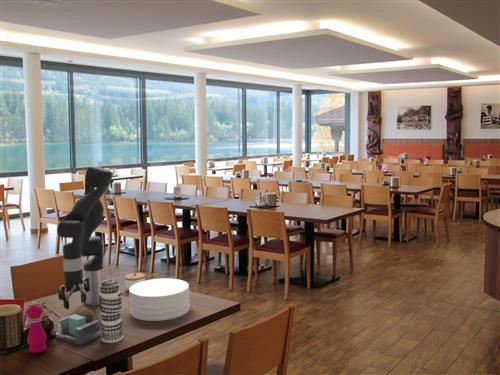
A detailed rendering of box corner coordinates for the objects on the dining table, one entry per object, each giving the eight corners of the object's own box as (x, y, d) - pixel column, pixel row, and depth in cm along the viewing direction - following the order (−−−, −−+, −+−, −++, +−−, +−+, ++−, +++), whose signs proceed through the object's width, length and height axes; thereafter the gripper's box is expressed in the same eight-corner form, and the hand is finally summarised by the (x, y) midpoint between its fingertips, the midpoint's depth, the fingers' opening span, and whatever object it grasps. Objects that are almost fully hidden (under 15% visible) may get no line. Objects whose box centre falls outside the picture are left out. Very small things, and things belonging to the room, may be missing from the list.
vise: (56, 337, 231) (55, 323, 230) (77, 329, 240) (76, 314, 239) (80, 345, 223) (79, 329, 222) (100, 335, 232) (99, 321, 231)
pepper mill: (31, 346, 223) (27, 298, 220) (49, 345, 223) (46, 297, 221) (25, 353, 216) (21, 304, 213) (44, 352, 216) (40, 303, 214)
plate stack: (172, 296, 282) (171, 275, 280) (200, 311, 259) (199, 288, 258) (120, 308, 265) (119, 285, 264) (146, 325, 243) (145, 300, 241)
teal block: (69, 333, 231) (68, 317, 231) (76, 330, 235) (75, 314, 234) (78, 336, 228) (77, 320, 227) (86, 333, 232) (85, 317, 231)
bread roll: (72, 332, 247) (72, 318, 243) (68, 316, 254) (68, 303, 250) (94, 327, 251) (95, 314, 247) (89, 312, 259) (90, 299, 255)
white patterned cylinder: (112, 332, 235) (108, 276, 232) (128, 336, 230) (125, 279, 227) (96, 340, 227) (92, 281, 224) (112, 344, 223) (109, 285, 219)
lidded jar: (129, 286, 300) (128, 269, 299) (148, 286, 299) (147, 269, 298) (122, 292, 289) (121, 275, 288) (142, 292, 288) (141, 275, 287)
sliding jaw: (57, 332, 232) (56, 320, 231) (74, 325, 239) (74, 313, 238) (61, 334, 230) (60, 321, 230) (78, 327, 238) (78, 314, 237)
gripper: (80, 262, 236) (83, 299, 238) (52, 271, 224) (55, 309, 226) (92, 265, 231) (94, 302, 234) (64, 273, 220) (67, 312, 222)
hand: (75, 305), depth 230 cm, fingers open, 8 cm apart
